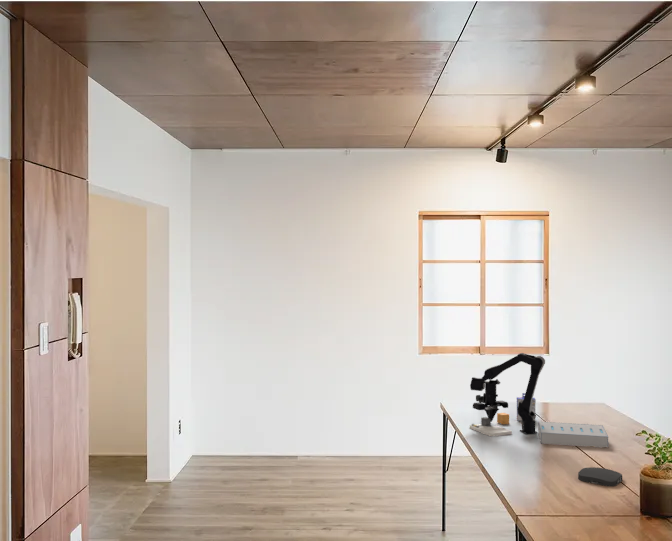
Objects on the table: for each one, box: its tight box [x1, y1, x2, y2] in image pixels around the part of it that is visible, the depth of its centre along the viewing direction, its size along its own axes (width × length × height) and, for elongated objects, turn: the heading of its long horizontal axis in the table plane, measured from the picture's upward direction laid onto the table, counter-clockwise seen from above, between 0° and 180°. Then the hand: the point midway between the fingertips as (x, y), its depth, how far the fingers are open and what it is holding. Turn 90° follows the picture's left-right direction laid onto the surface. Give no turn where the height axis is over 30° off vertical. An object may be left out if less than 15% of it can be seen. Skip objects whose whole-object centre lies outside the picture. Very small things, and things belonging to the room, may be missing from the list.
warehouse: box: [537, 421, 609, 448], centre depth 307 cm, size 30×14×8 cm, turn 77°
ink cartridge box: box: [516, 392, 537, 422], centre depth 350 cm, size 10×6×14 cm, turn 81°
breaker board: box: [469, 422, 513, 438], centre depth 326 cm, size 18×13×2 cm
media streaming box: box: [577, 466, 623, 487], centre depth 252 cm, size 15×15×3 cm
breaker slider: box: [480, 416, 492, 426], centre depth 332 cm, size 4×3×4 cm
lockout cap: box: [496, 412, 510, 425], centre depth 343 cm, size 4×4×5 cm
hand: (490, 421), depth 333 cm, fingers closed
